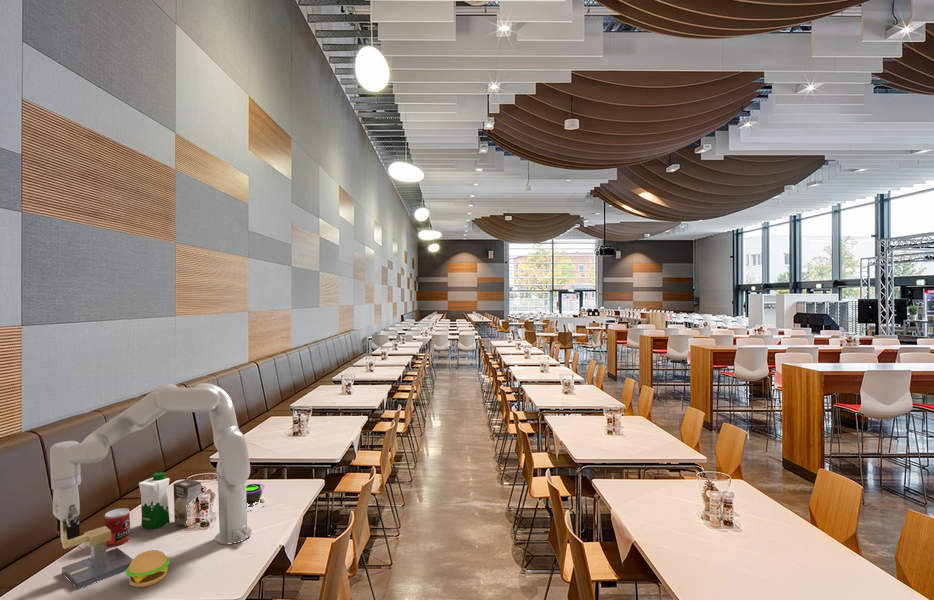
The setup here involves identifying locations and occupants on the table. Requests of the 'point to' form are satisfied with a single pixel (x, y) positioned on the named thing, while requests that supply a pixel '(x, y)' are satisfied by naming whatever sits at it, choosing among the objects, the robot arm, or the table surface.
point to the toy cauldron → (254, 494)
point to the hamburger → (147, 568)
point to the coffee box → (184, 498)
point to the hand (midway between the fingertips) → (68, 533)
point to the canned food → (118, 526)
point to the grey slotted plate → (97, 566)
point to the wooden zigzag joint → (85, 536)
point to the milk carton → (154, 501)
